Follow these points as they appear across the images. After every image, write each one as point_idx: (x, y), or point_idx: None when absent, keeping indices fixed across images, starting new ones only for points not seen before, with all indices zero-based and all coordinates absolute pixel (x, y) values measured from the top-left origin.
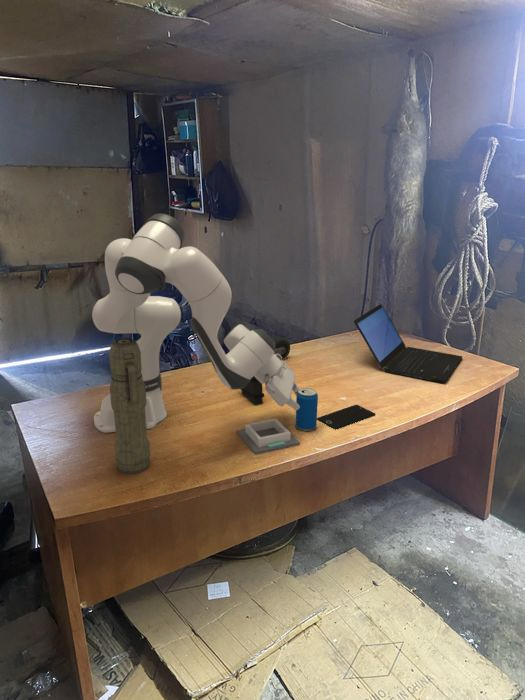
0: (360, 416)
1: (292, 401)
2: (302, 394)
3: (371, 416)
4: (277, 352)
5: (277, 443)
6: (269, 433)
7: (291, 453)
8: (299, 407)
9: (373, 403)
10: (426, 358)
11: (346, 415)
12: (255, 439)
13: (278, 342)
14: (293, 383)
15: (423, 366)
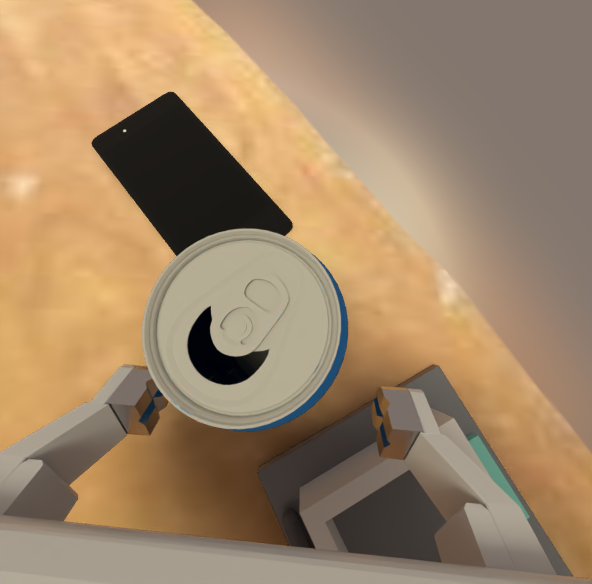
0: (192, 136)
1: (497, 492)
2: (325, 375)
3: (186, 106)
4: None
5: (491, 473)
6: (381, 517)
7: (508, 398)
8: (419, 391)
9: (81, 93)
10: None
11: (184, 180)
12: None
13: None
14: (88, 536)
15: None
